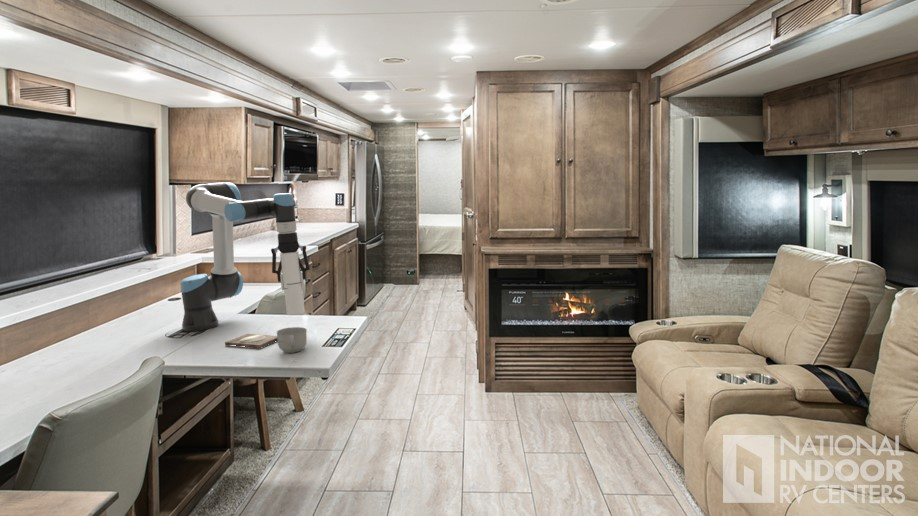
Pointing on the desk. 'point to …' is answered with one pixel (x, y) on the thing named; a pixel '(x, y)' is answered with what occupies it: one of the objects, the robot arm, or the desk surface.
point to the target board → (252, 340)
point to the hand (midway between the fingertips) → (293, 288)
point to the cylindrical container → (292, 283)
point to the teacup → (292, 339)
